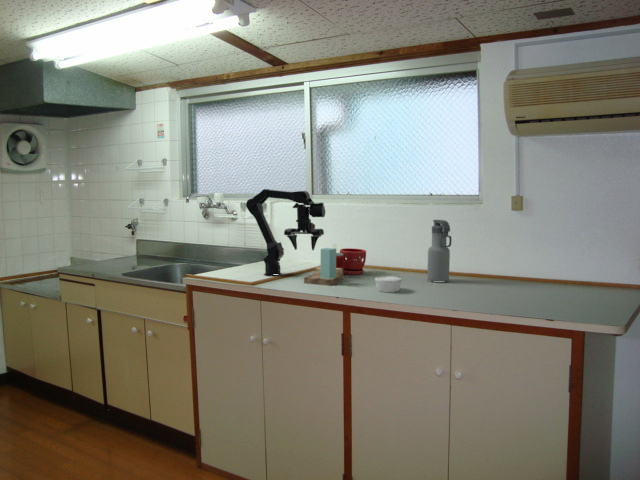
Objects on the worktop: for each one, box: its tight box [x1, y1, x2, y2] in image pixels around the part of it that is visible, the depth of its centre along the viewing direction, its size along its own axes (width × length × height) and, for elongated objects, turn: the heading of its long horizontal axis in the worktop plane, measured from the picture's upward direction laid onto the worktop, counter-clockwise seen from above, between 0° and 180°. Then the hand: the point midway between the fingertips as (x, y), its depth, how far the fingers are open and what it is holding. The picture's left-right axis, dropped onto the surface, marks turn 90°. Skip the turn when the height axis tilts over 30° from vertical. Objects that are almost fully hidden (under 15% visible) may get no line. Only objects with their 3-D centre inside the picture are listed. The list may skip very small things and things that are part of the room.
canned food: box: [336, 252, 344, 275], centre depth 257 cm, size 8×8×11 cm
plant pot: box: [339, 247, 367, 276], centre depth 265 cm, size 13×13×12 cm
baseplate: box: [303, 272, 345, 286], centre depth 244 cm, size 14×14×3 cm
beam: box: [314, 266, 342, 276], centre depth 249 cm, size 12×4×3 cm, turn 68°
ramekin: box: [374, 275, 402, 293], centre depth 225 cm, size 11×11×5 cm
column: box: [320, 247, 337, 279], centre depth 240 cm, size 5×5×13 cm
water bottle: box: [426, 219, 452, 282], centre depth 245 cm, size 10×10×28 cm
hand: (304, 249), depth 256 cm, fingers open, 9 cm apart
